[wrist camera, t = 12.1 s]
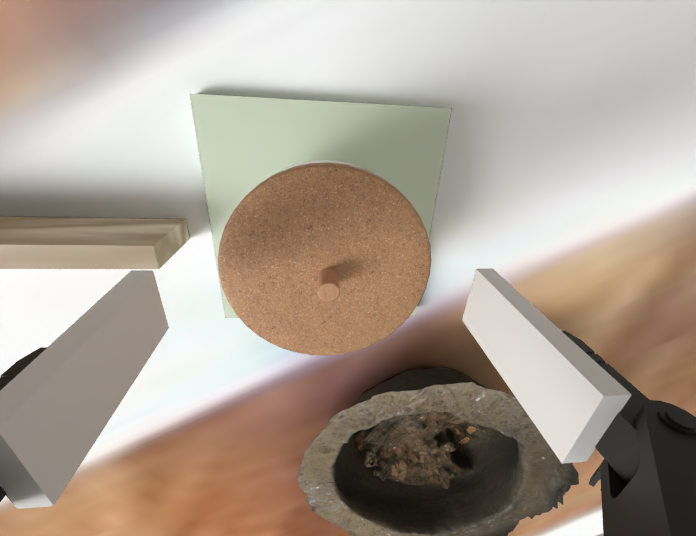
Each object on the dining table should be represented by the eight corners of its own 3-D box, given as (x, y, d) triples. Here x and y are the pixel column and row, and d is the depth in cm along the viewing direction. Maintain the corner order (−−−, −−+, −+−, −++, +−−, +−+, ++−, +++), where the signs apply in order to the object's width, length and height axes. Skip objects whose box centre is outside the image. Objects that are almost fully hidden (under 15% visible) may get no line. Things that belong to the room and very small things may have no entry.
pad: (195, 94, 19) (189, 93, 18) (445, 108, 21) (451, 108, 20) (228, 310, 26) (225, 317, 25) (412, 308, 28) (415, 315, 27)
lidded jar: (394, 137, 20) (449, 155, 12) (399, 280, 25) (440, 363, 17) (230, 157, 20) (167, 189, 11) (267, 297, 25) (241, 392, 16)
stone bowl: (552, 427, 37) (611, 520, 29) (373, 490, 43) (382, 581, 35) (479, 284, 27) (541, 368, 18) (256, 395, 33) (230, 494, 25)
